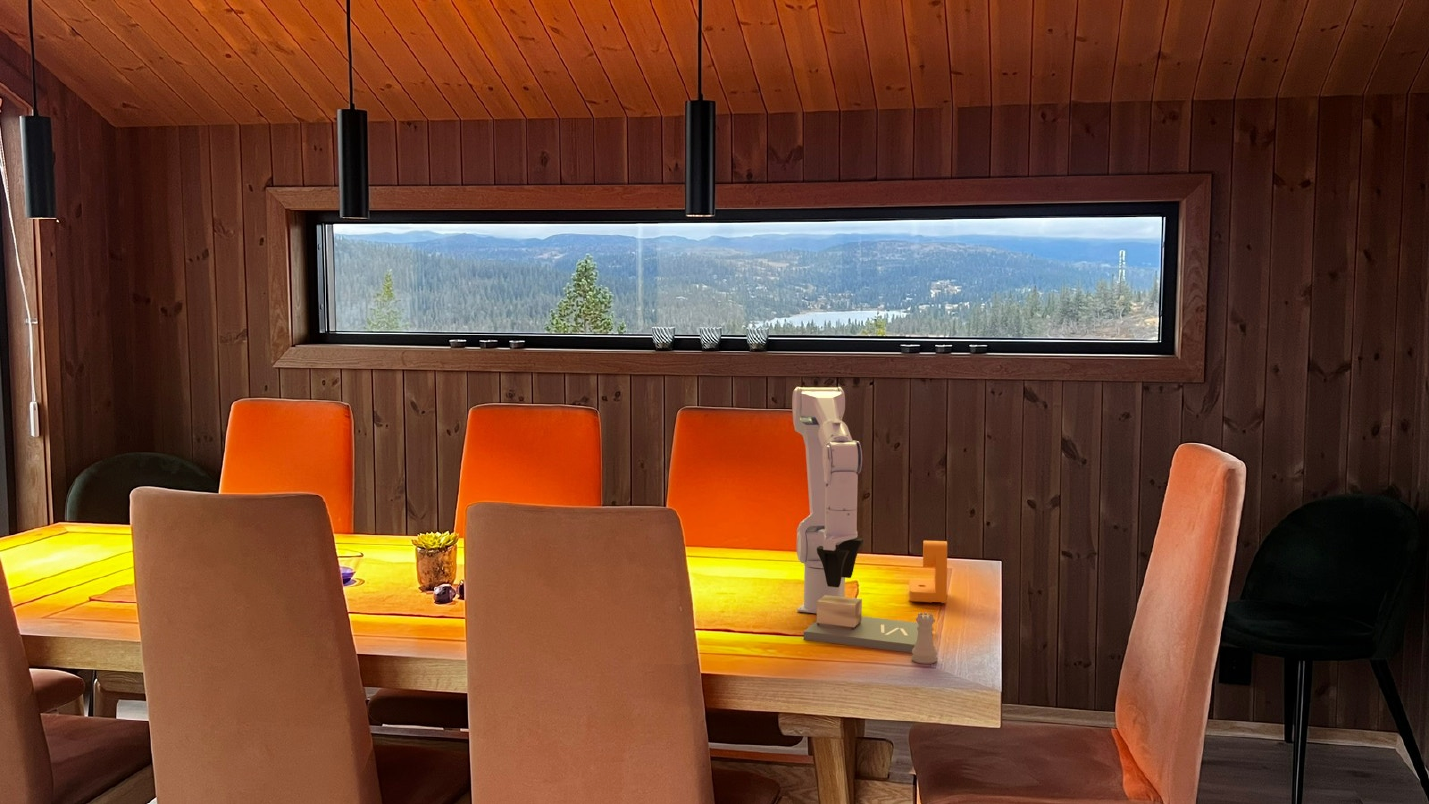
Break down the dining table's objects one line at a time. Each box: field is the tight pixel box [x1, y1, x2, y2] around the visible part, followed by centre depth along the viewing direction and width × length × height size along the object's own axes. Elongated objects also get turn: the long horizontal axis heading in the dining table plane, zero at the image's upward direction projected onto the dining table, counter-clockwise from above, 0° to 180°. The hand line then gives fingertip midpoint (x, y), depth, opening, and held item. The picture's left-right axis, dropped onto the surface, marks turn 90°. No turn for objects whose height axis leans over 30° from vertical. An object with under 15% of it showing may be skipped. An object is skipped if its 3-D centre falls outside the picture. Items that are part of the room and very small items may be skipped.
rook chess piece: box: [910, 611, 939, 665], centre depth 205 cm, size 4×4×8 cm
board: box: [803, 616, 918, 654], centre depth 220 cm, size 14×20×2 cm
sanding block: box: [816, 595, 863, 630], centre depth 222 cm, size 5×7×4 cm
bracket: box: [908, 540, 948, 604], centre depth 246 cm, size 11×7×12 cm, turn 171°
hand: (839, 581), depth 221 cm, fingers open, 7 cm apart
